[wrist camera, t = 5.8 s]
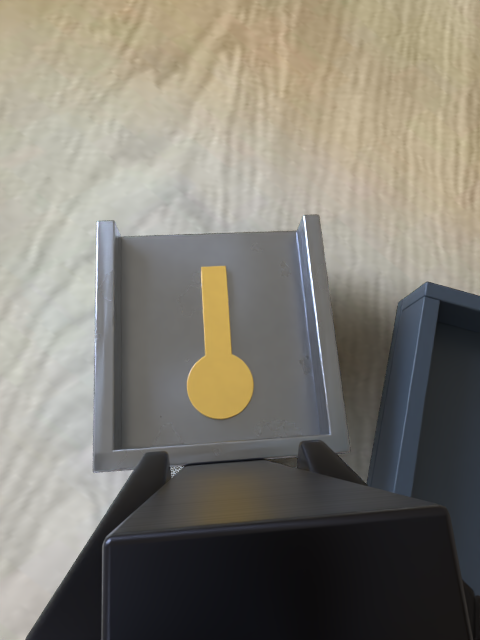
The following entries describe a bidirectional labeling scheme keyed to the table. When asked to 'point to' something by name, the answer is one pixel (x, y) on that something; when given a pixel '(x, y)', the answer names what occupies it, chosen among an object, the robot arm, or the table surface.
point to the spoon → (218, 356)
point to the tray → (434, 413)
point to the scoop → (249, 460)
